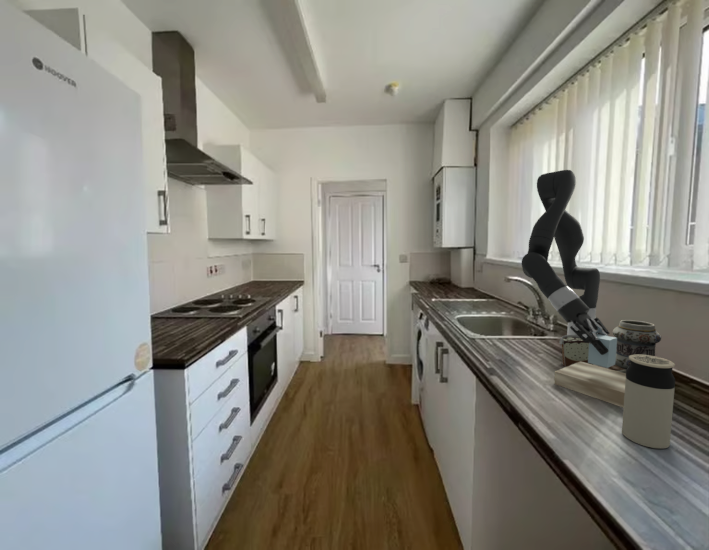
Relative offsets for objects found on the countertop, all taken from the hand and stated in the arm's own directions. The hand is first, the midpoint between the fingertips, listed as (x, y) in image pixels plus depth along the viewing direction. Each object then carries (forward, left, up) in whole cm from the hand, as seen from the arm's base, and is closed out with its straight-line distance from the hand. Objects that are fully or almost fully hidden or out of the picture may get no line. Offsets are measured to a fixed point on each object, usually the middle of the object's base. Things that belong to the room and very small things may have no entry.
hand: (609, 351), depth 97 cm
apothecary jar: (-18, 0, -12) cm, 22 cm away
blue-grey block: (0, -2, -4) cm, 5 cm away
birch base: (0, -2, -12) cm, 12 cm away
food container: (-15, -16, -12) cm, 25 cm away
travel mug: (+21, +15, -12) cm, 29 cm away
